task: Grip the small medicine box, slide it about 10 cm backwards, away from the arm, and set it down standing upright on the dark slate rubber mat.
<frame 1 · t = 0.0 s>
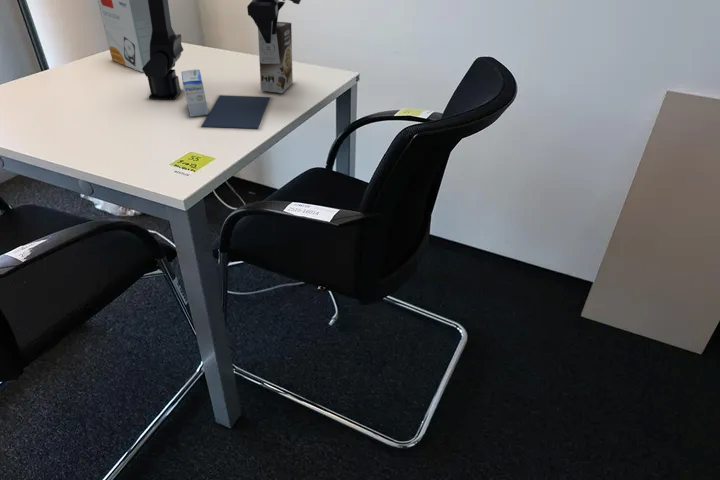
hand: (271, 38, 130), 15 cm above the table, tool pointing down, fingers open, 7 cm apart
medicine box: (199, 110, 132), on the table, touching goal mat
coffee box: (277, 87, 146), on the table, touching gripper
hard drive box: (138, 64, 158), on the table
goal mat: (237, 111, 132), on the table
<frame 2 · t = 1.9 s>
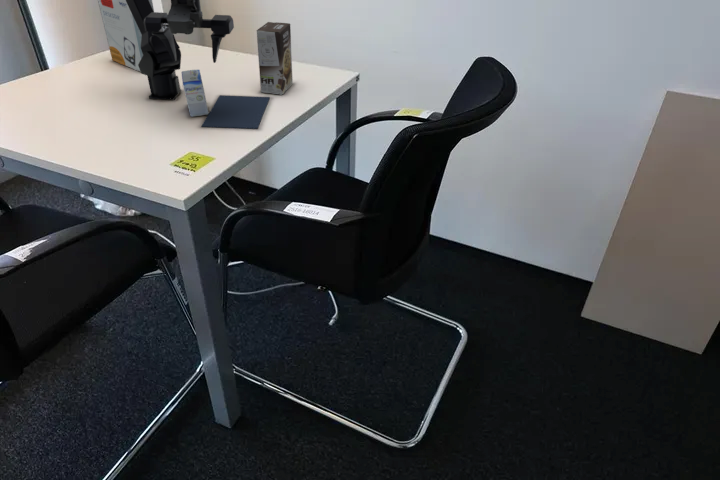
hand: (195, 61, 125), 12 cm above the table, tool pointing down, fingers open, 9 cm apart
coffee box: (277, 88, 146), on the table
everything else where it was.
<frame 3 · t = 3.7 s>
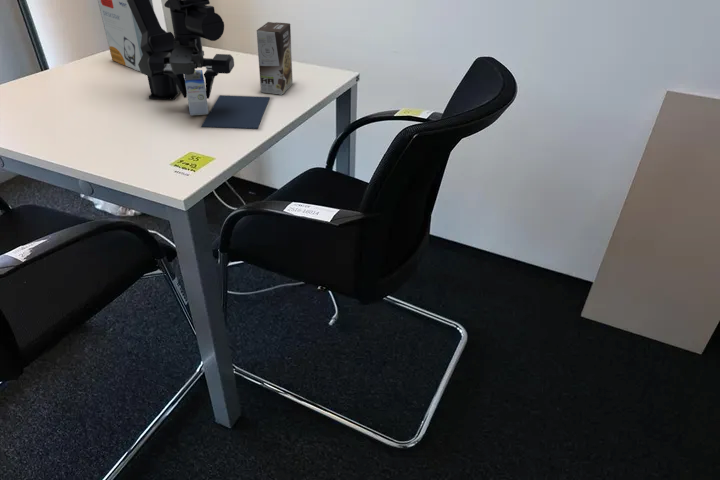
hand: (196, 97, 130), 3 cm above the table, tool pointing down, fingers closed on medicine box, 5 cm apart
medicine box: (198, 110, 132), on the table, touching gripper
everything else where it was.
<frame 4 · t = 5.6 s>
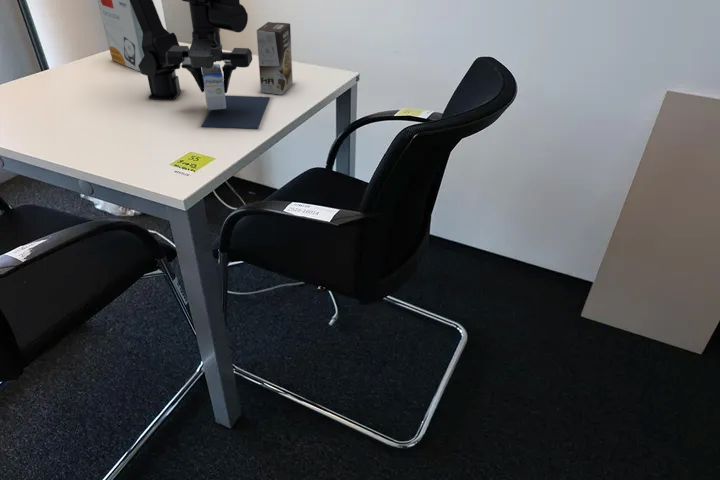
hand: (214, 92, 129), 5 cm above the table, tool pointing down, fingers closed on medicine box, 5 cm apart
medicine box: (216, 105, 131), point 2 cm above the table, touching gripper
everything else where it was.
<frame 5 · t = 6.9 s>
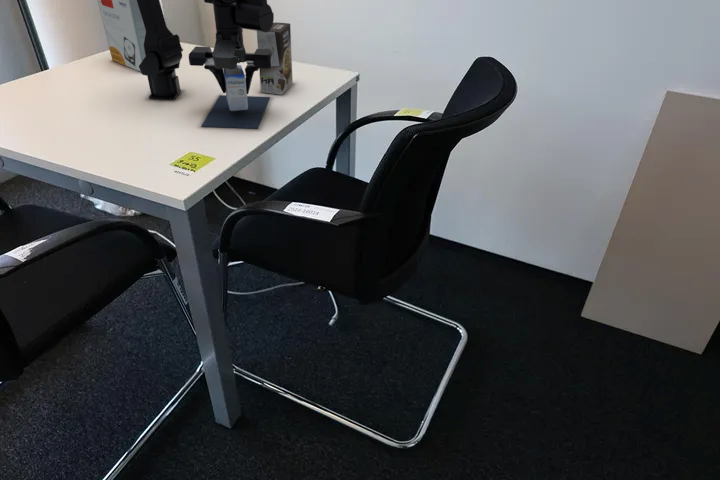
hand: (235, 93, 129), 5 cm above the table, tool pointing down, fingers closed on medicine box, 5 cm apart
medicine box: (237, 105, 131), point 2 cm above the table, touching gripper
everything else where it was.
when the fingers open (3 cm above the table, at t = 7.8 s): medicine box stays where it is, resting on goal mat.
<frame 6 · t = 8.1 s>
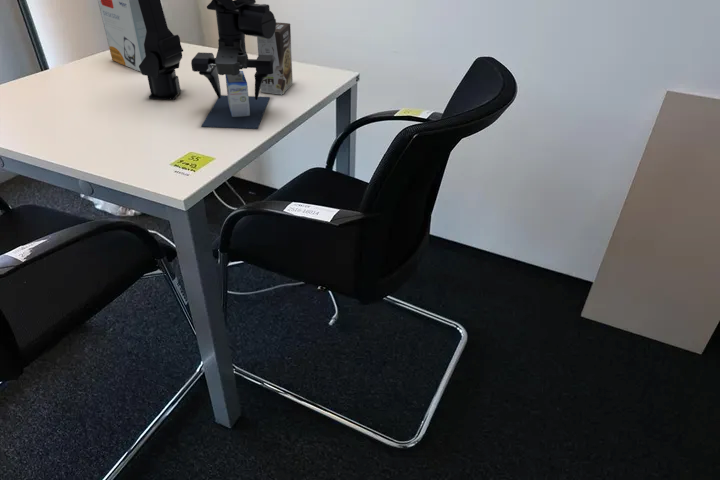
hand: (238, 98, 130), 3 cm above the table, tool pointing down, fingers open, 9 cm apart
medicine box: (239, 111, 132), resting on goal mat
everything else where it was.
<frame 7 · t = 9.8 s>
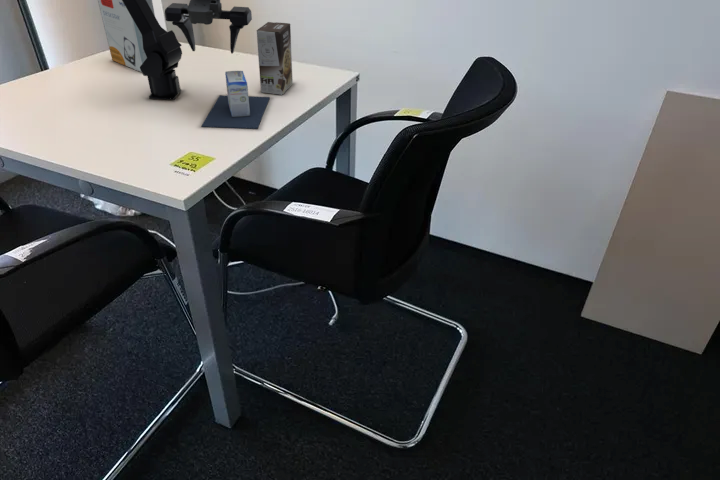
hand: (213, 51, 129), 13 cm above the table, tool pointing down, fingers open, 9 cm apart
nothing on the table moved.
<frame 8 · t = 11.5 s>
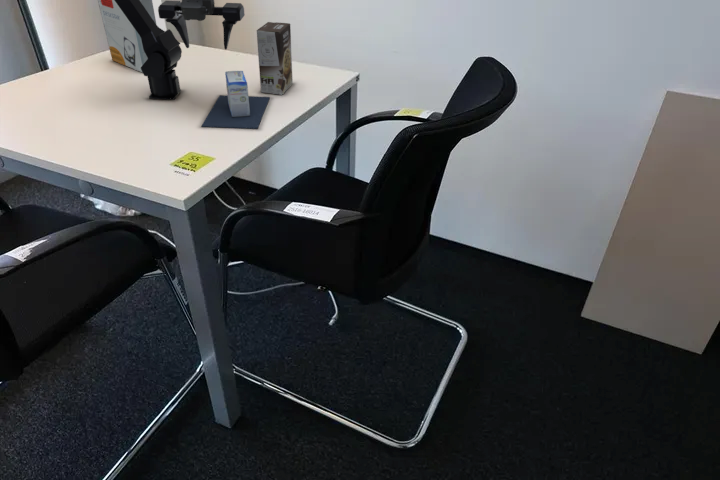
hand: (207, 48, 130), 13 cm above the table, tool pointing down, fingers open, 9 cm apart
nothing on the table moved.
at the end: medicine box 0.1 cm from the target spot, resting on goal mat; medicine box tilted 0°; medicine box touching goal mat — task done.
